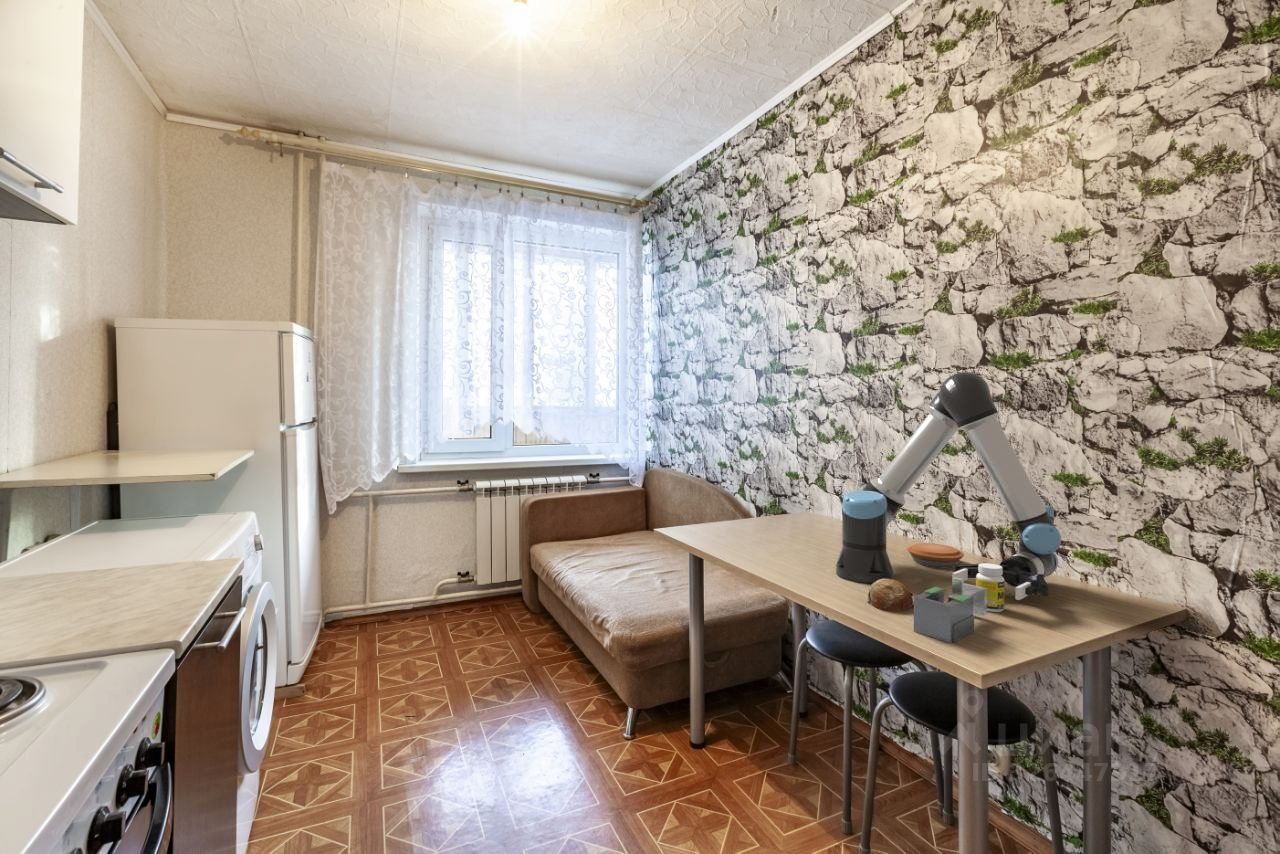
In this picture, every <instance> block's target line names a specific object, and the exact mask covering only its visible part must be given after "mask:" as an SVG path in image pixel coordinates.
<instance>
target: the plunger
mask: <svg viewBox="0 0 1280 854" xmlns="http://www.w3.org/2000/svg"><path fill="white" fill-rule="evenodd" d="M951 578H952V577H951ZM951 582H952V583H951V584H952V587H951V590H952V591H951V594H952V595H949V596H948V597H947V603H948V602H950V601H952V600H953V599H954V598H956V597H958V596H960V595H963V594H965V595H969V596H973V597H974V600H973V614H977V615H980V616H983V617H985V616H987V614H988V611H987V588H983V587H979V586H976V584H975V585H974V584H970V583H966V582H965V581H964V579H961V578H957V577H953V578H952V579H951Z"/></svg>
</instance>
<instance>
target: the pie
mask: <svg viewBox="0 0 1280 854" xmlns="http://www.w3.org/2000/svg"><path fill="white" fill-rule="evenodd" d="M906 550H907V551H908V553H909V554H910V555H911V557H912V559H913V560H914V562H915V561H916V562H915V563H918V564H919V563H920V565H922V564H923V565H922V566H926V565H928V566H927V567H931V566H933V567H932V568H940V567H948V568H954V567H955V565H958V563H959V561H960V560H961V559H962V558H963V557H964V556H965V554H964V553H965V552H962V551H961V550H959V549H958V548H956V547H953V546H950V545H947V544H946V545H945V544H940V543H924V542H923V543H915V544H913V545H910V546H907V548H906ZM953 566H954V567H953Z"/></svg>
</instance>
